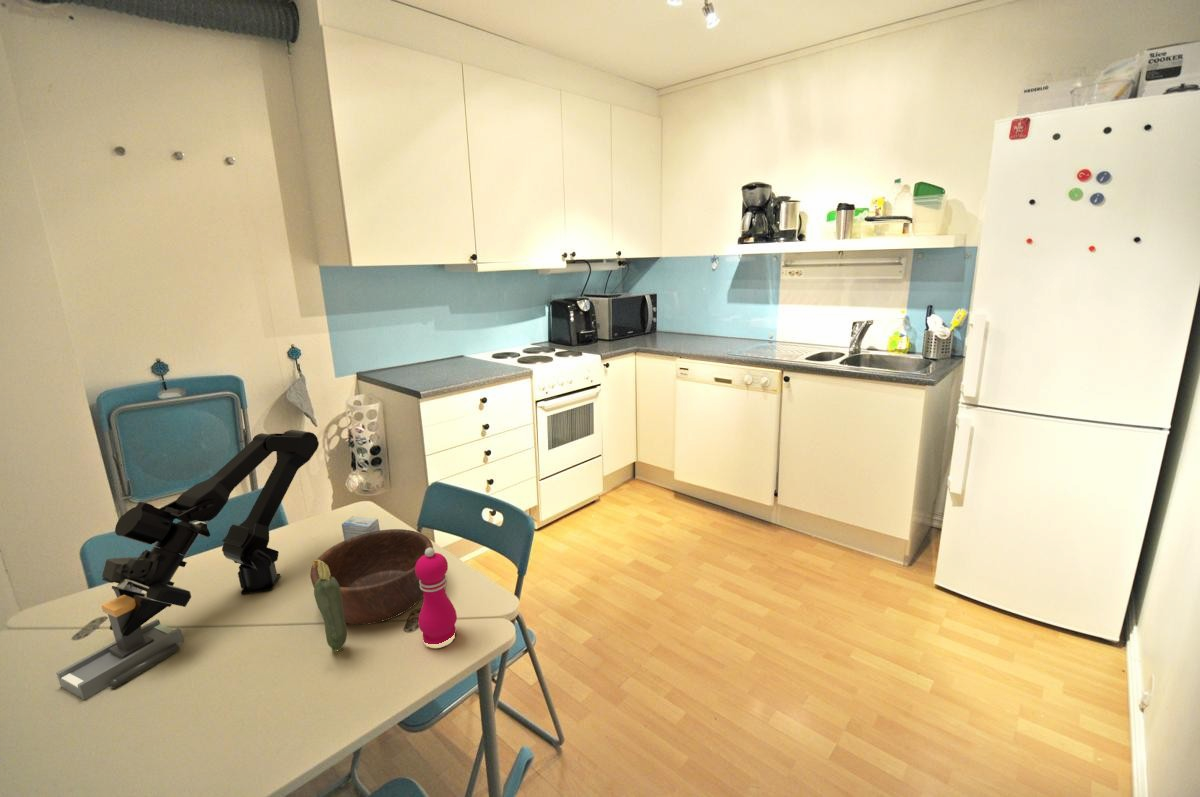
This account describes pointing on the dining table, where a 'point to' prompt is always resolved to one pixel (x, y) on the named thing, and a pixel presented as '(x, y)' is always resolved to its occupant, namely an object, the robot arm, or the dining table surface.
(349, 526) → the medicine box
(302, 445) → the robot arm
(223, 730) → the dining table surface
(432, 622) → the pepper mill
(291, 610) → the dining table surface
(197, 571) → the dining table surface
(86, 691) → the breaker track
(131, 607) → the orange-capped post
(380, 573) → the wooden bowl
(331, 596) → the vegetable
